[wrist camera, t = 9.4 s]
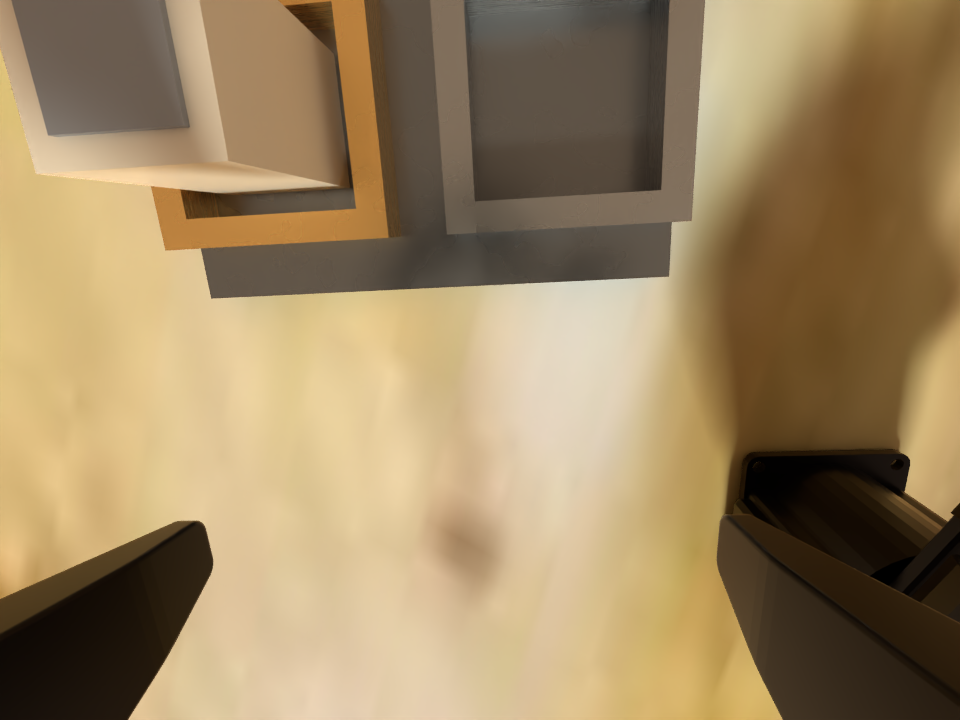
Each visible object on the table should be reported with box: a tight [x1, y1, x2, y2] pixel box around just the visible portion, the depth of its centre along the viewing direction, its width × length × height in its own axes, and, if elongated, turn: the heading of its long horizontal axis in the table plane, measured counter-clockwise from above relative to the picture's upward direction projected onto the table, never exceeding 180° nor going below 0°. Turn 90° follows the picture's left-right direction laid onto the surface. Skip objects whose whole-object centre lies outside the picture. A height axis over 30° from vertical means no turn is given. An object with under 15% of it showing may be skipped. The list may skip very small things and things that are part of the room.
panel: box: [151, 0, 705, 298], centre depth 17 cm, size 18×12×3 cm, turn 93°
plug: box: [0, 0, 350, 195], centre depth 14 cm, size 4×4×8 cm
